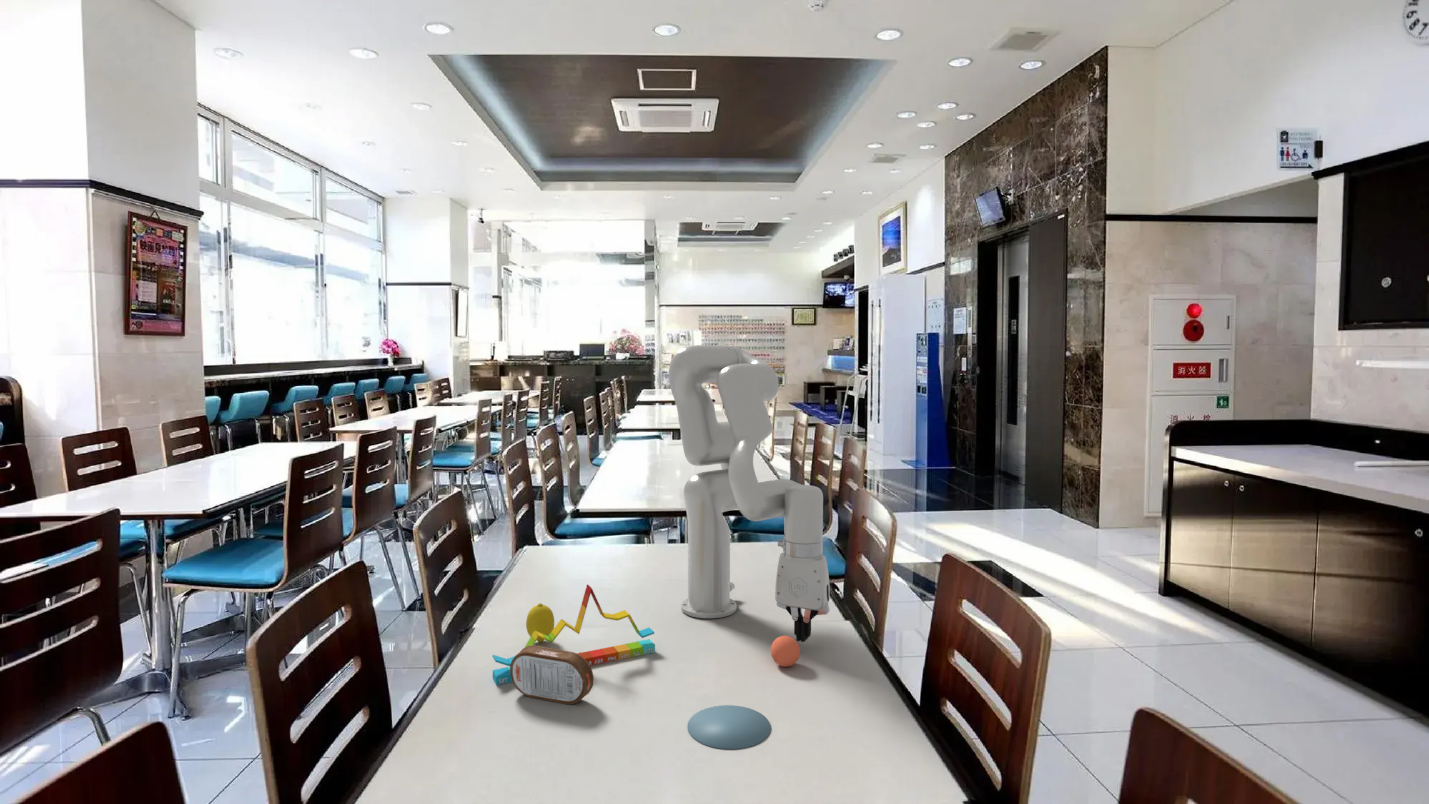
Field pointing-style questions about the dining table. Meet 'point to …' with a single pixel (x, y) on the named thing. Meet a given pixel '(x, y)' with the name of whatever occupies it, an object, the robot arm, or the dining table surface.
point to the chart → (590, 656)
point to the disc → (729, 727)
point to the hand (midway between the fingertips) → (802, 638)
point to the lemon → (540, 620)
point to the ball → (785, 651)
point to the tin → (551, 674)
